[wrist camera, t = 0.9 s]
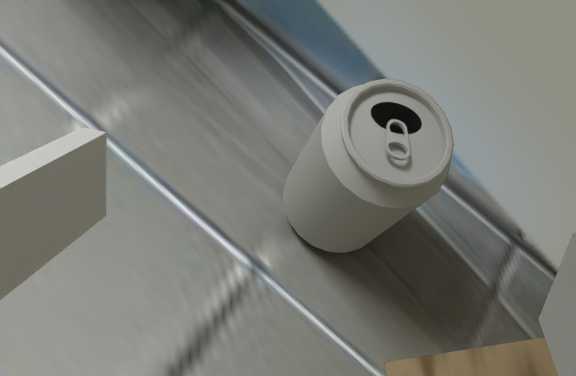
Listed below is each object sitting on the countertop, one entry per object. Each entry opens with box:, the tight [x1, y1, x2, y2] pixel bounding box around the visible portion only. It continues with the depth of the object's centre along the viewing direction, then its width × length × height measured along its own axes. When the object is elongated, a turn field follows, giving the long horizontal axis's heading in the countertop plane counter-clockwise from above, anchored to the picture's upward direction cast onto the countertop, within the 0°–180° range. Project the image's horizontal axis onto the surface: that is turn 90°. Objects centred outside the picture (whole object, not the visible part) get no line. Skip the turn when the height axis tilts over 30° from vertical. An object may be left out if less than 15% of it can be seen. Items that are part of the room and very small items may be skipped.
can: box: [283, 79, 454, 253], centre depth 33 cm, size 8×8×12 cm
